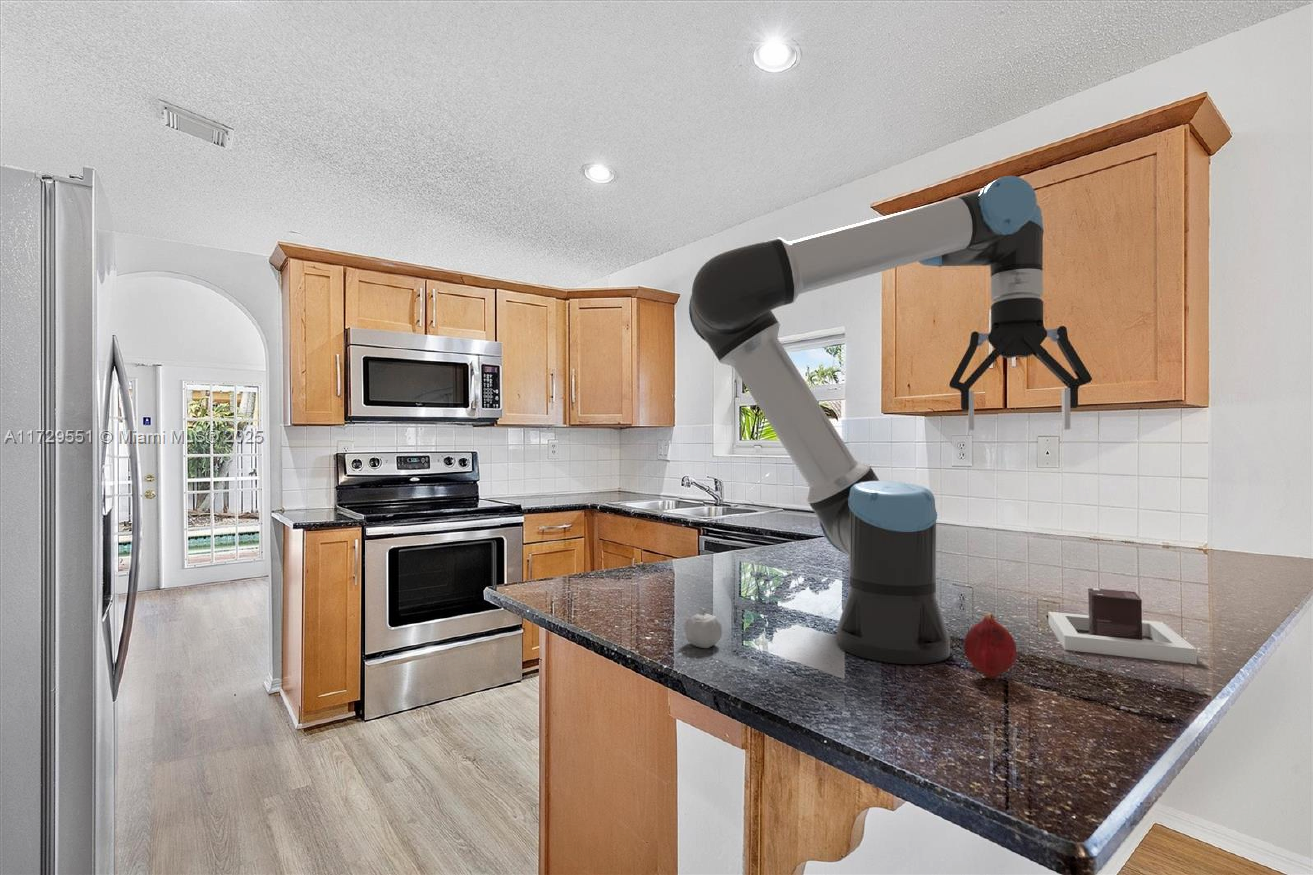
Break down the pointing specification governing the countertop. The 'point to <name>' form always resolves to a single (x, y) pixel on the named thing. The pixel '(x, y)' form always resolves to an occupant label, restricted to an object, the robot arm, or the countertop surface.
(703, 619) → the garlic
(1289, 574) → the countertop surface
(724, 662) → the countertop surface
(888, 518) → the robot arm
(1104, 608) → the box
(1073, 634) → the hole plate
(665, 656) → the countertop surface
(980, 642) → the onion
